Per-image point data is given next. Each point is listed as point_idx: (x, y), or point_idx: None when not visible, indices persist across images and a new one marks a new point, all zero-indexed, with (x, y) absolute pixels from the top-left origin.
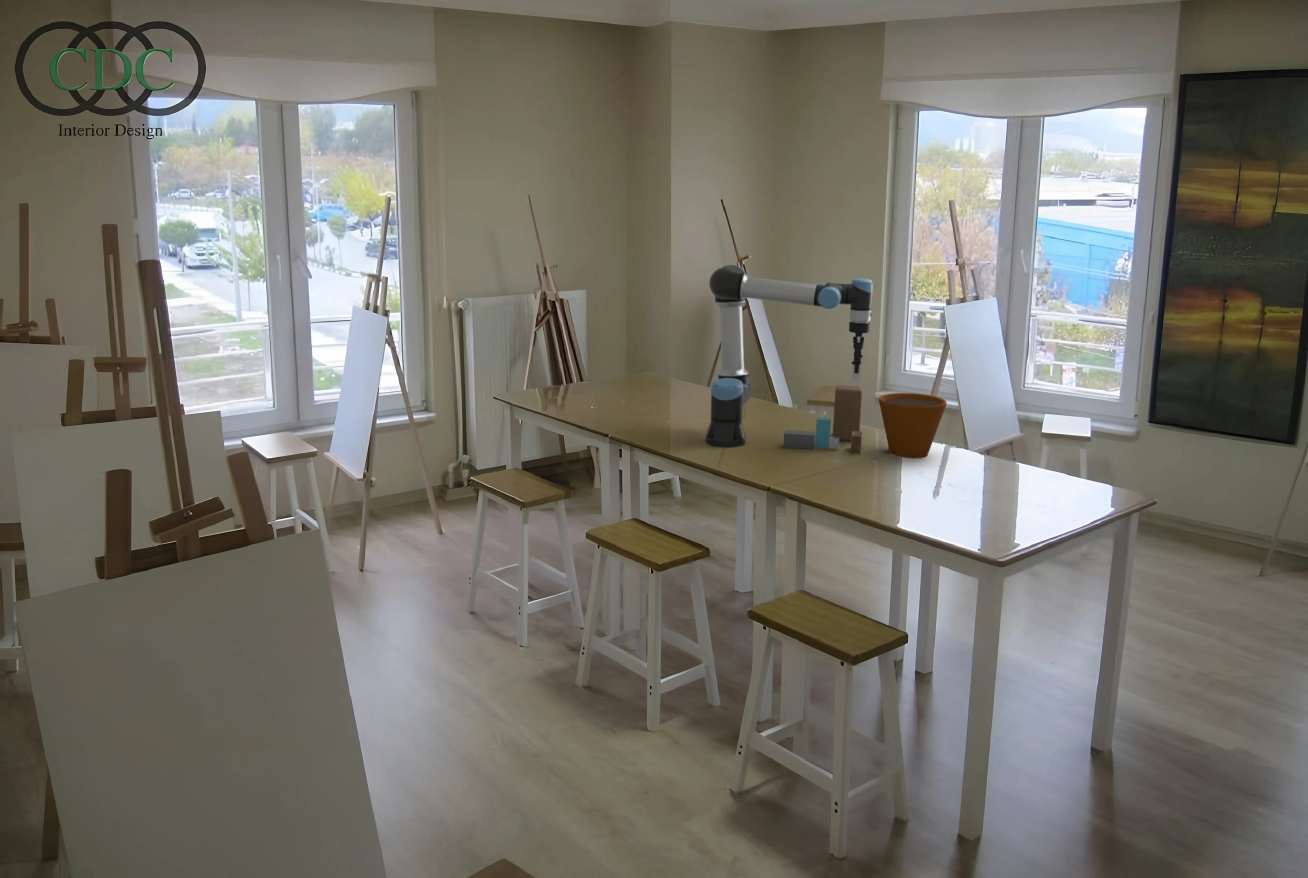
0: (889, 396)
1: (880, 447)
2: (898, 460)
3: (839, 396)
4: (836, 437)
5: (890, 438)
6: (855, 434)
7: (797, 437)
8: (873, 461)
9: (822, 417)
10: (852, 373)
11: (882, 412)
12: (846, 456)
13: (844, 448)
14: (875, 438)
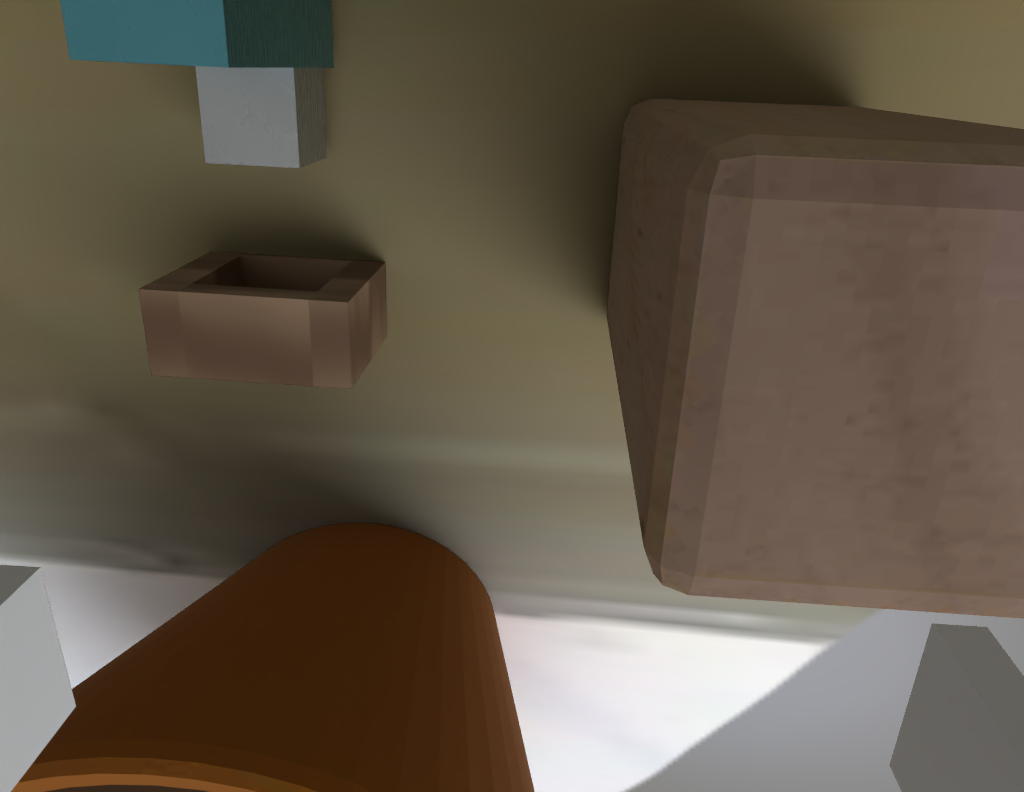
0: None
1: (466, 474)
2: (147, 554)
3: (671, 210)
4: (261, 137)
5: (220, 586)
6: (212, 325)
7: None
8: (49, 403)
9: None
10: (952, 656)
11: (139, 674)
12: (104, 216)
13: (356, 205)
14: None
